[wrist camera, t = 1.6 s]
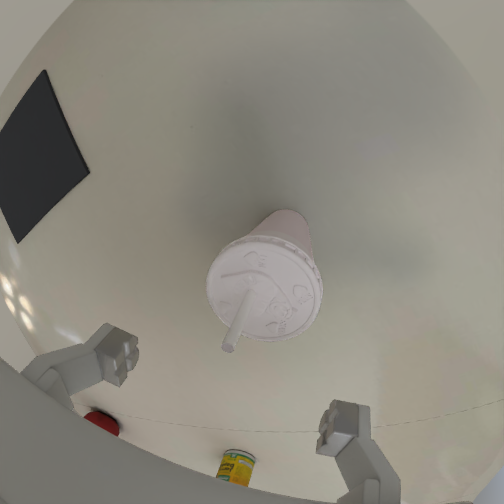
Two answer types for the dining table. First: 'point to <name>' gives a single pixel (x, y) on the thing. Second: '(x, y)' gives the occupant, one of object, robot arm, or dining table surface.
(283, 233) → the smoothie
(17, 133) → the mat
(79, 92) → the dining table surface
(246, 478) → the supplement bottle
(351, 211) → the dining table surface
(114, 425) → the tomato
